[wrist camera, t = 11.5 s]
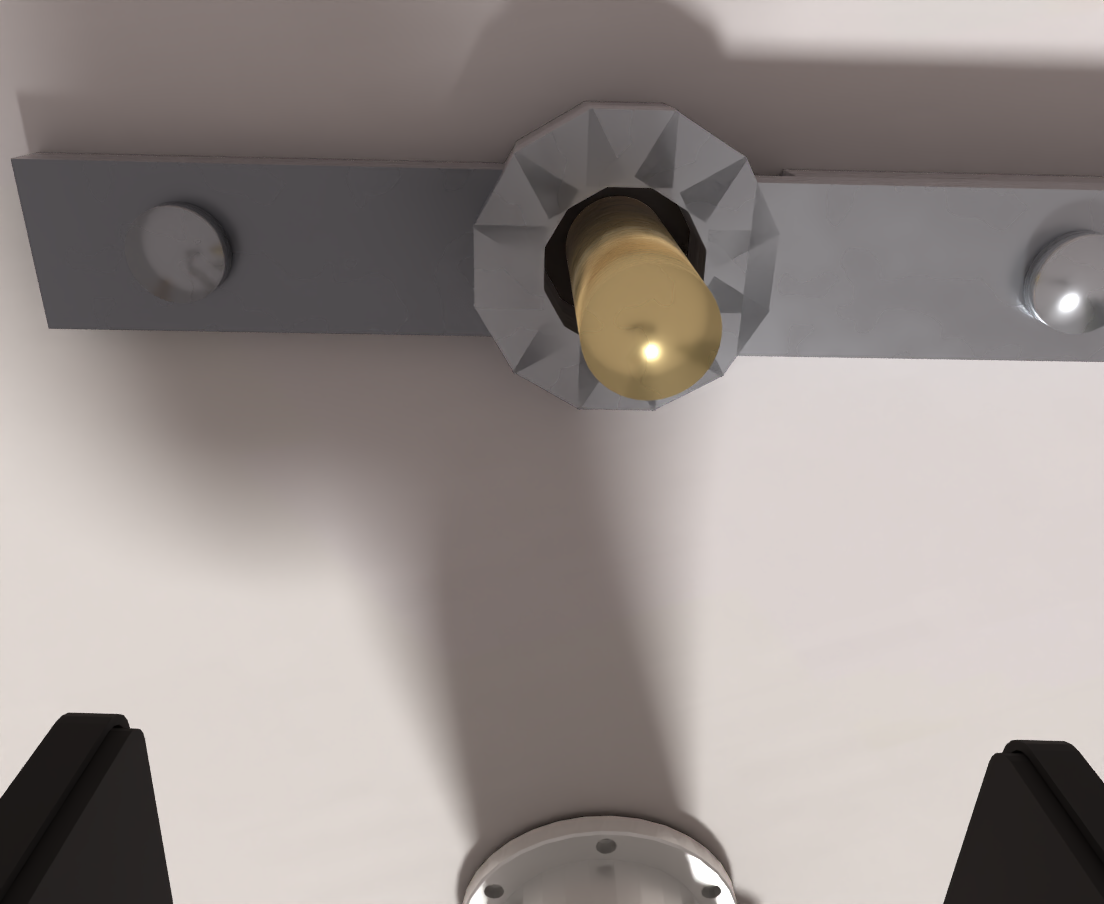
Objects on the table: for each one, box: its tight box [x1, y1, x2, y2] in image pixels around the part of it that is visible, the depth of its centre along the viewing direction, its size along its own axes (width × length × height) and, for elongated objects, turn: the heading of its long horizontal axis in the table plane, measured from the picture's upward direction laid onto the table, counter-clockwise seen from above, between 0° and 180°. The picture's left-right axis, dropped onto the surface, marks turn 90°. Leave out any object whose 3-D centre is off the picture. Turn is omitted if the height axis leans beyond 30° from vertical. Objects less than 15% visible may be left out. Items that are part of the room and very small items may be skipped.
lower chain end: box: [11, 101, 698, 336], centre depth 27 cm, size 22×9×2 cm, turn 89°
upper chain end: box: [473, 104, 1104, 411], centre depth 27 cm, size 22×9×4 cm, turn 89°
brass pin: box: [566, 196, 722, 401], centre depth 24 cm, size 3×3×9 cm
